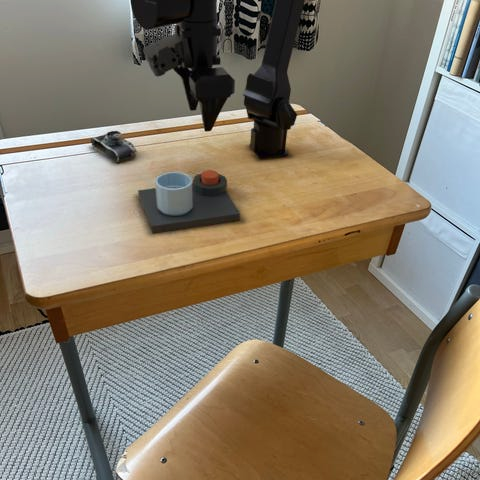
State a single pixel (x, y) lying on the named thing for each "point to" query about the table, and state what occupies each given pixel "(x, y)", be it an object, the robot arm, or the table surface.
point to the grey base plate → (202, 213)
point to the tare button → (210, 177)
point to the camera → (114, 146)
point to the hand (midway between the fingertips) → (200, 120)
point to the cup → (174, 193)
